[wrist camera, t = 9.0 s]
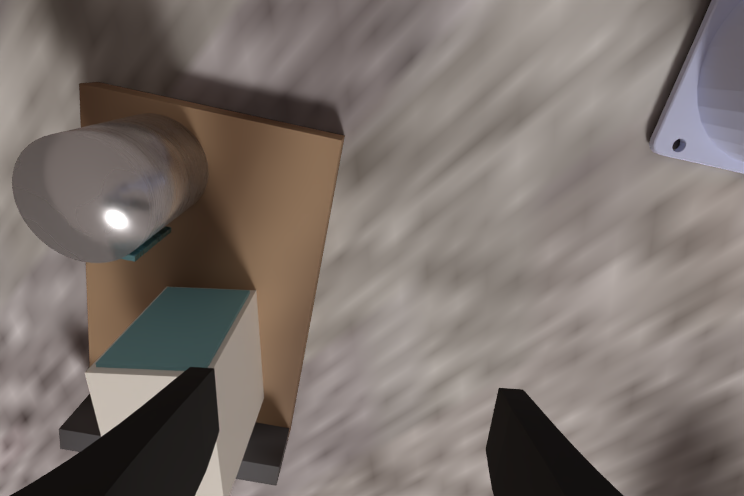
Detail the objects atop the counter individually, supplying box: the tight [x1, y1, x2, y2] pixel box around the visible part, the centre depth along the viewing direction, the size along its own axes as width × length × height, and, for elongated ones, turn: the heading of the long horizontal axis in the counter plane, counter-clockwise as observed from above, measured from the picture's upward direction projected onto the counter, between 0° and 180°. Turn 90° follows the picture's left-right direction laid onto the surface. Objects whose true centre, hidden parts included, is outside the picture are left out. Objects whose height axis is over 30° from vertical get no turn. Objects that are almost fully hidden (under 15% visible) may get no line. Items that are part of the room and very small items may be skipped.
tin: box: [12, 113, 208, 263], centre depth 16 cm, size 4×4×5 cm
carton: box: [85, 287, 264, 496], centre depth 19 cm, size 6×4×6 cm, turn 178°
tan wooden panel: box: [59, 82, 345, 485], centre depth 20 cm, size 10×16×4 cm, turn 168°
